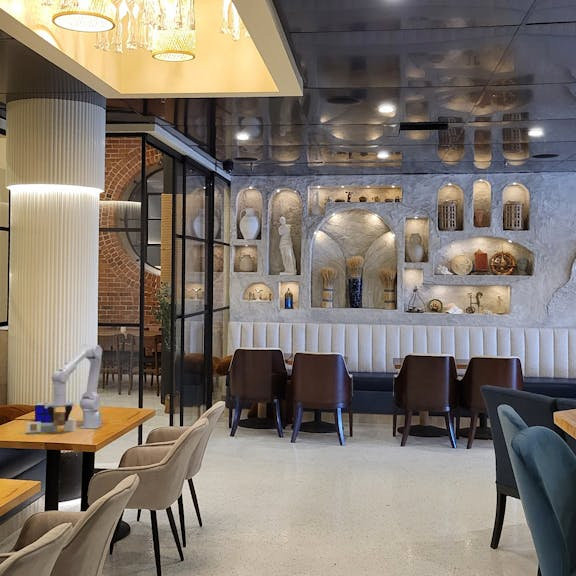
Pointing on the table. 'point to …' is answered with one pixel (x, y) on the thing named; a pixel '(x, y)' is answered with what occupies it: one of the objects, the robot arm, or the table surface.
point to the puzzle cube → (42, 413)
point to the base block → (48, 427)
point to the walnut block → (59, 418)
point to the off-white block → (70, 424)
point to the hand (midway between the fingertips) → (59, 421)
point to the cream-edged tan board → (33, 427)
